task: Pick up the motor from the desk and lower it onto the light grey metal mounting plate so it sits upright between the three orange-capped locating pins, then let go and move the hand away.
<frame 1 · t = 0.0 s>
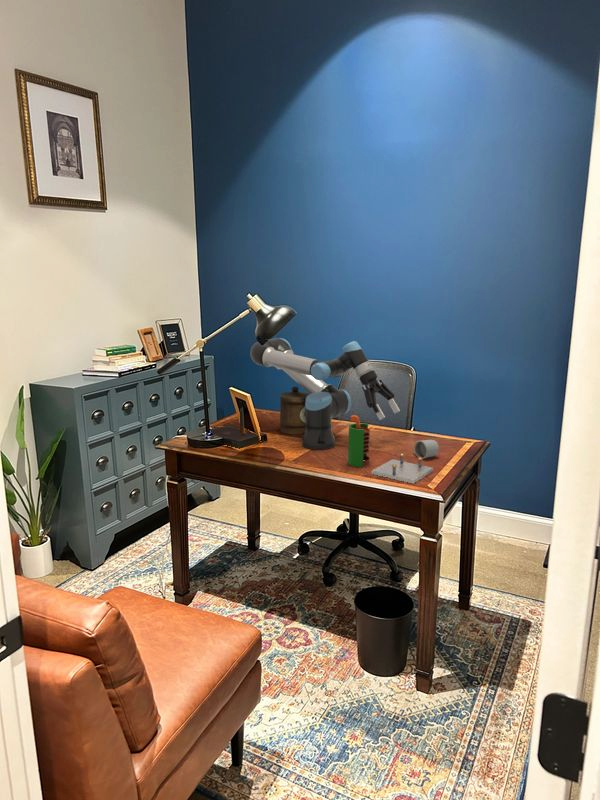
hand: (390, 415, 264), 15 cm above the table, tool tilted 35°, fingers open, 13 cm apart
diary: (234, 442, 280), on the table
motor: (358, 463, 249), on the table
wooden container: (295, 430, 297), on the table
ceramic mug: (424, 456, 257), on the table
mounting plate: (402, 472, 237), on the table
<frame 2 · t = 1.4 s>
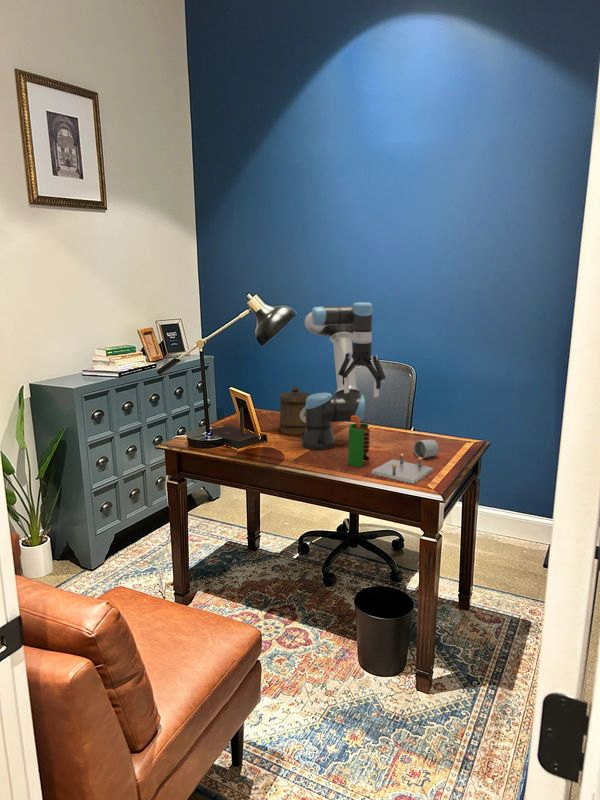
hand: (361, 394, 243), 29 cm above the table, tool pointing down, fingers open, 13 cm apart
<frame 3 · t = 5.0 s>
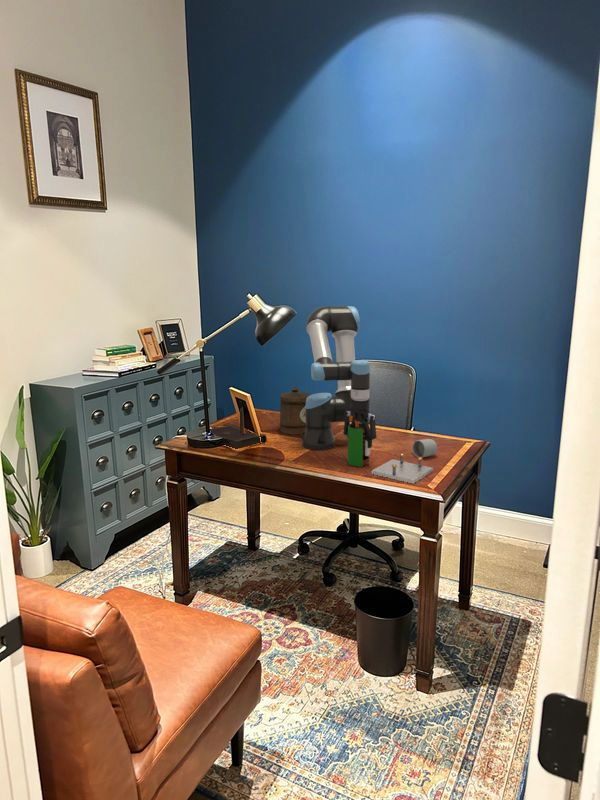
hand: (359, 453, 248), 4 cm above the table, tool pointing down, fingers closed on motor, 7 cm apart
motor: (358, 463, 249), on the table, touching gripper
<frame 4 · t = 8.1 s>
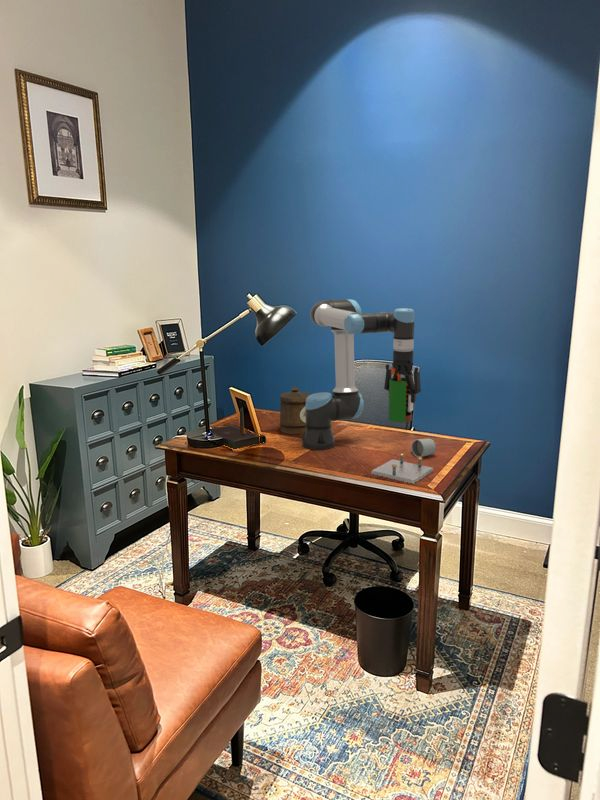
hand: (401, 409, 232), 26 cm above the table, tool pointing down, fingers closed on motor, 7 cm apart
motor: (400, 420, 233), point 21 cm above the table, touching gripper
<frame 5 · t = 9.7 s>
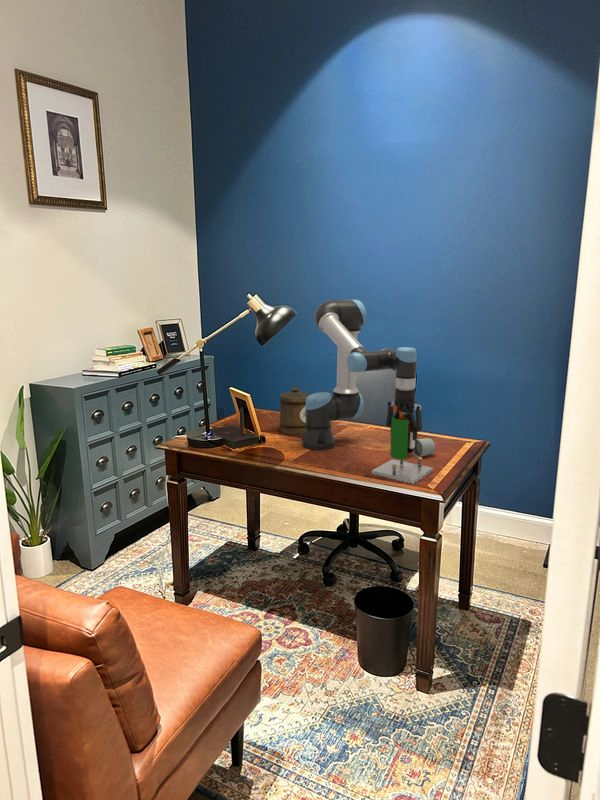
hand: (403, 446, 235), 11 cm above the table, tool pointing down, fingers closed on motor, 7 cm apart
motor: (401, 456, 236), point 7 cm above the table, touching gripper
when the fingers open (7 cm above the table, at t = 11.3 s): motor drops 1 cm, resting on mounting plate.
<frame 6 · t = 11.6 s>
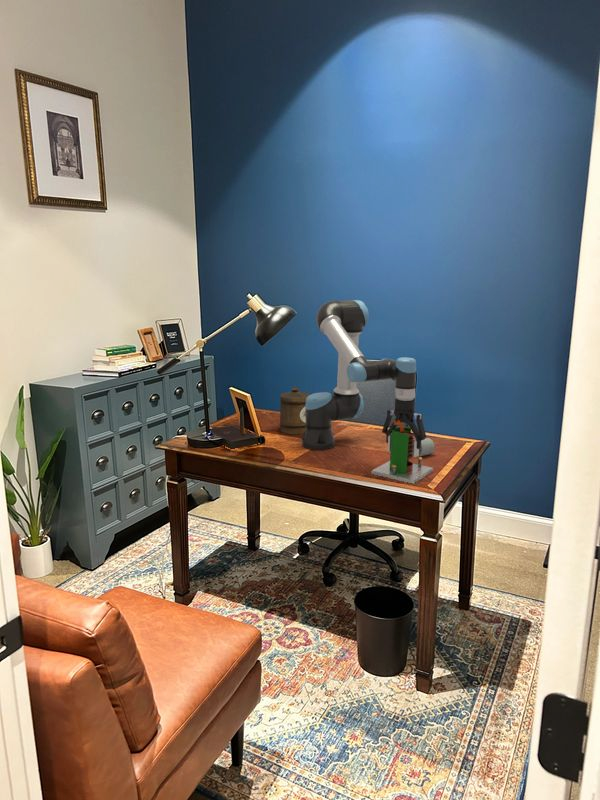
hand: (403, 453, 235), 8 cm above the table, tool pointing down, fingers open, 10 cm apart
motor: (401, 469, 237), point 1 cm above the table, touching mounting plate
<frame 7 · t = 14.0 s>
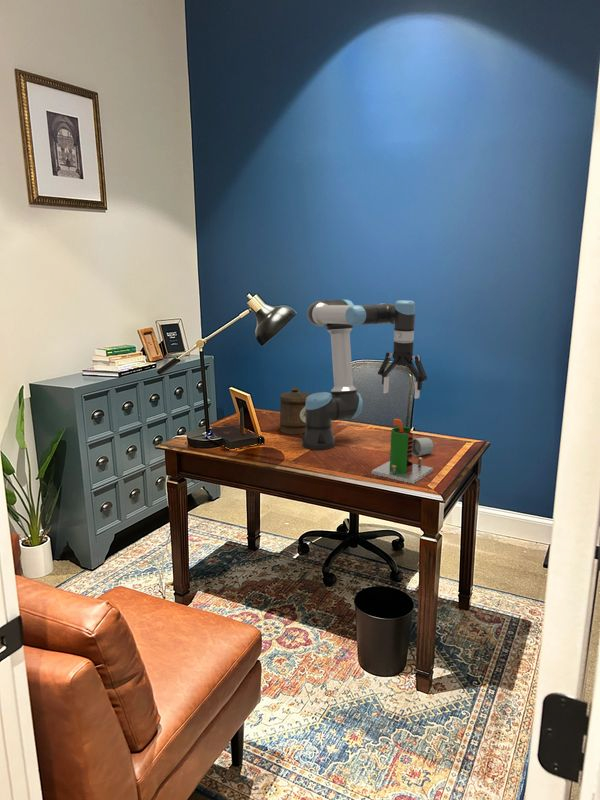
hand: (401, 395, 236), 30 cm above the table, tool pointing down, fingers open, 13 cm apart
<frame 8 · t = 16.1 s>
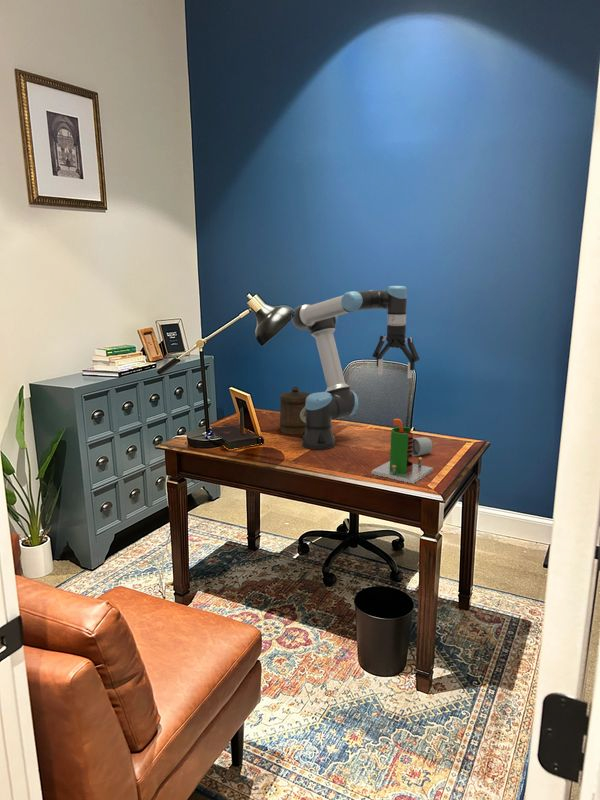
hand: (394, 376, 250), 35 cm above the table, tool pointing down, fingers open, 13 cm apart
at the end: motor 0.7 cm off-centre on the mounting plate, point 1.3 cm above the mounting plate's base; motor tilted 0°; the gripper is holding nothing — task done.
